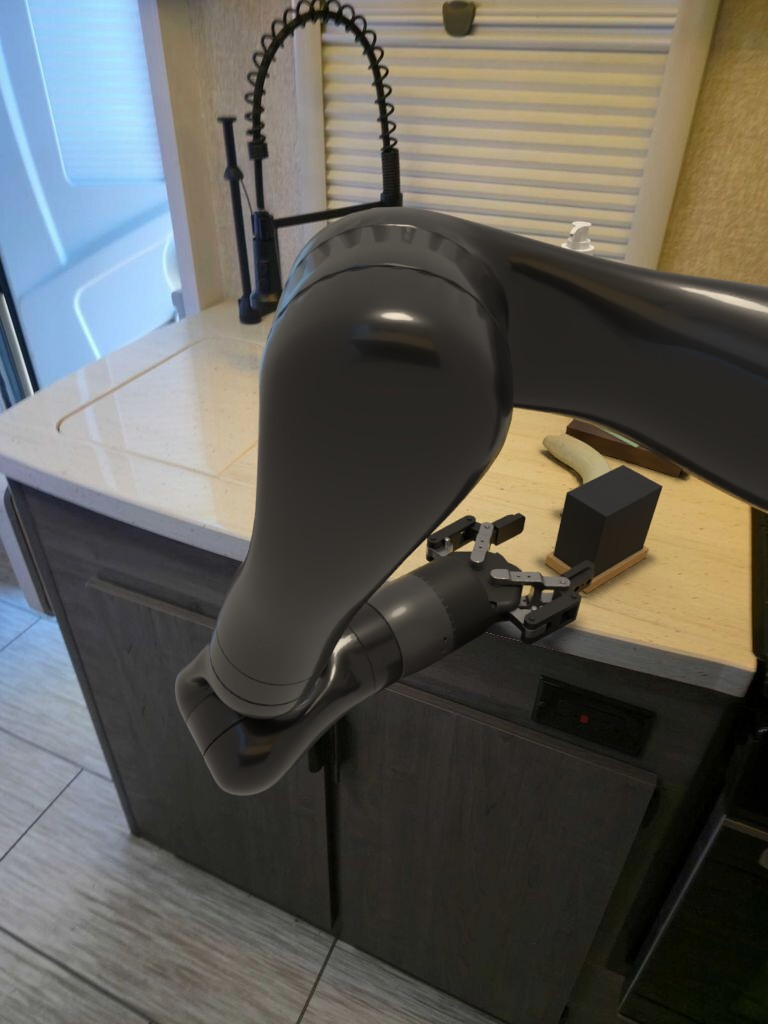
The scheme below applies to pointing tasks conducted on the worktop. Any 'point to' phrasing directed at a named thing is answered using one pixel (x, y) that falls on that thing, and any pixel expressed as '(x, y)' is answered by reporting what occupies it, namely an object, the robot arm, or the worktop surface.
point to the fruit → (577, 456)
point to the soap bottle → (579, 238)
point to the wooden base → (618, 447)
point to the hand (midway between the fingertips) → (554, 544)
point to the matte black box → (606, 524)
